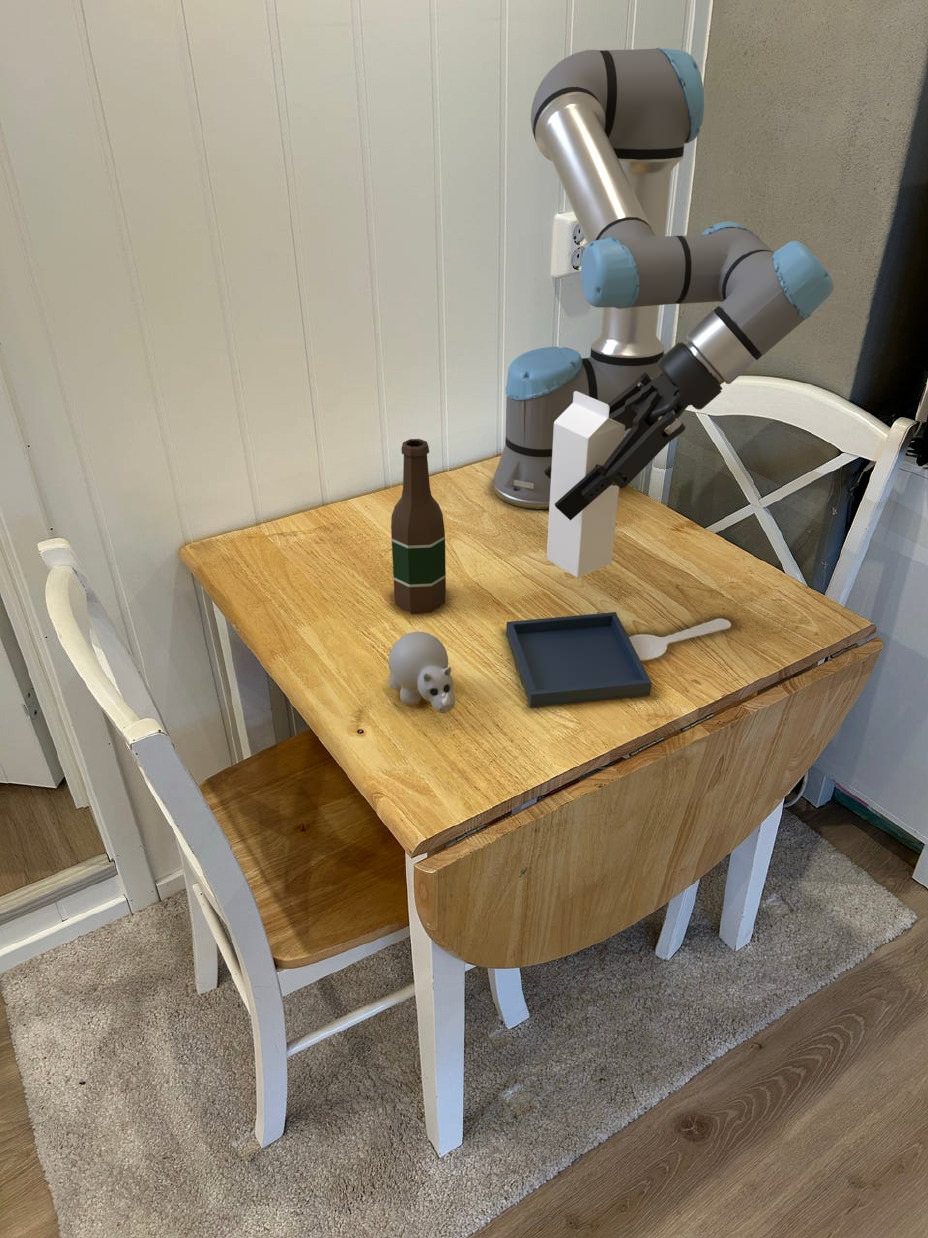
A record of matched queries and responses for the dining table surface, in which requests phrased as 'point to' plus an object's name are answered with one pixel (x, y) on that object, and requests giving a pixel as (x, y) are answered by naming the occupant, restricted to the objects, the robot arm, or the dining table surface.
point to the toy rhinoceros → (421, 671)
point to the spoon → (672, 638)
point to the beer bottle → (418, 537)
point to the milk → (575, 453)
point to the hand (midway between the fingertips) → (556, 495)
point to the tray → (576, 660)
